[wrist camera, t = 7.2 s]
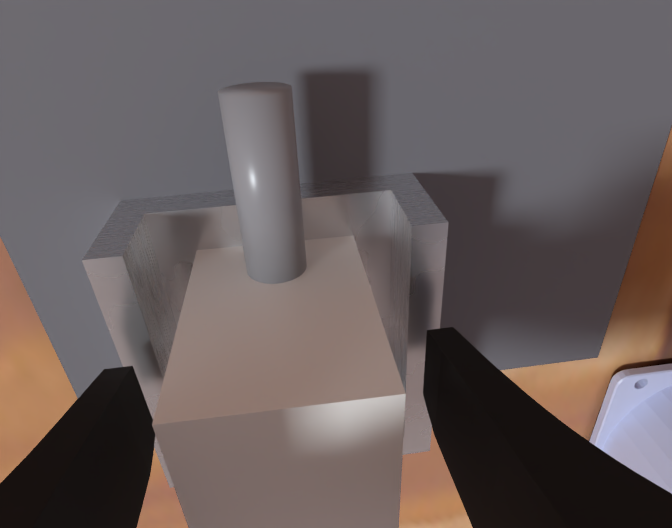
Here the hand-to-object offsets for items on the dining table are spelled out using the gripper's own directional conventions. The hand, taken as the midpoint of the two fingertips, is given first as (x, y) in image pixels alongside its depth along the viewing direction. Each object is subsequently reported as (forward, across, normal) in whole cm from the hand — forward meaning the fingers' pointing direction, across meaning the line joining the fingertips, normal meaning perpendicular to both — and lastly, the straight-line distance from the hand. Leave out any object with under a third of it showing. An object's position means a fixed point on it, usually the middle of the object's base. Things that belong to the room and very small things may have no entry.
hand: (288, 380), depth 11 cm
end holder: (+4, 0, +1) cm, 4 cm away
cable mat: (+4, -2, -3) cm, 5 cm away
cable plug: (+3, 0, -2) cm, 4 cm away
